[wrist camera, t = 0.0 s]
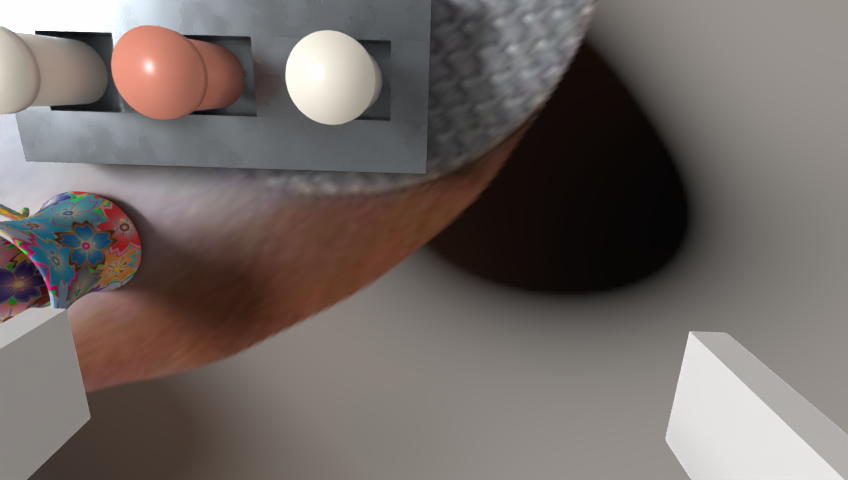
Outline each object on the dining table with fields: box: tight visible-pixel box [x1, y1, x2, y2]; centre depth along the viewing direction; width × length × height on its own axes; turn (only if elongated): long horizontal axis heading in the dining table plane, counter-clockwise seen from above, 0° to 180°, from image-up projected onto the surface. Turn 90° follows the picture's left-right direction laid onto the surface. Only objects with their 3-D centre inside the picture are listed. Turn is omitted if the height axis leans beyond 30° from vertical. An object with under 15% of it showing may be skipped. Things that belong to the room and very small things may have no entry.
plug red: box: [111, 25, 245, 120], centre depth 28 cm, size 5×5×7 cm
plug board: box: [0, 0, 432, 174], centre depth 33 cm, size 12×28×4 cm, turn 88°
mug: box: [0, 192, 141, 324], centre depth 34 cm, size 12×9×11 cm
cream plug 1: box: [0, 25, 108, 114], centre depth 28 cm, size 5×5×7 cm
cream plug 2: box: [286, 30, 382, 125], centre depth 28 cm, size 5×5×7 cm
